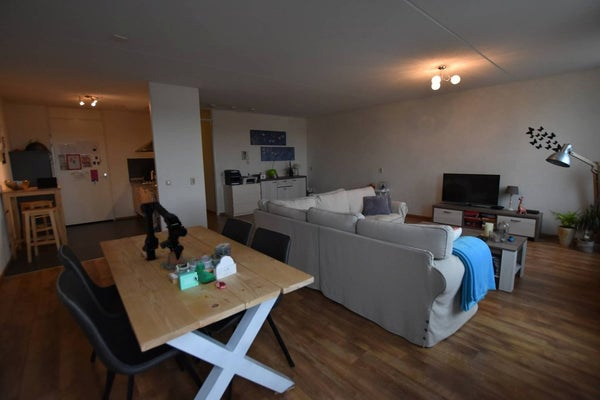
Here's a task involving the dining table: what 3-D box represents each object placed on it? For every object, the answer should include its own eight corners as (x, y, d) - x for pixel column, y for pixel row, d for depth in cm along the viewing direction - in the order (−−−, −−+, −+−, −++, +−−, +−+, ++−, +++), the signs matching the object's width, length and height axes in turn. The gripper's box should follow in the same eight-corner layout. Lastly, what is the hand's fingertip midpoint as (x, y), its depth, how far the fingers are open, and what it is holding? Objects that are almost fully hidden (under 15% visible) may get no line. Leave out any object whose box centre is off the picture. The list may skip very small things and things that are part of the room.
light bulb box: (224, 263, 185) (223, 248, 184) (215, 263, 187) (214, 247, 185) (231, 258, 196) (230, 243, 194) (222, 257, 197) (221, 242, 195)
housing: (168, 263, 185) (167, 252, 184) (180, 260, 191) (179, 250, 189) (170, 265, 182) (169, 254, 181) (183, 262, 187) (182, 251, 186)
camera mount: (216, 280, 161) (215, 262, 159) (204, 284, 155) (202, 267, 154) (205, 274, 169) (204, 258, 167) (193, 278, 163) (192, 261, 162)
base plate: (161, 264, 187) (161, 258, 186) (183, 258, 196) (182, 253, 195) (168, 270, 176) (167, 264, 176) (190, 264, 186) (190, 259, 185)
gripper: (155, 234, 185) (158, 257, 187) (164, 240, 171) (166, 265, 173) (173, 231, 192) (175, 253, 195) (183, 236, 178) (185, 260, 181)
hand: (175, 258), depth 186 cm, fingers open, 9 cm apart
